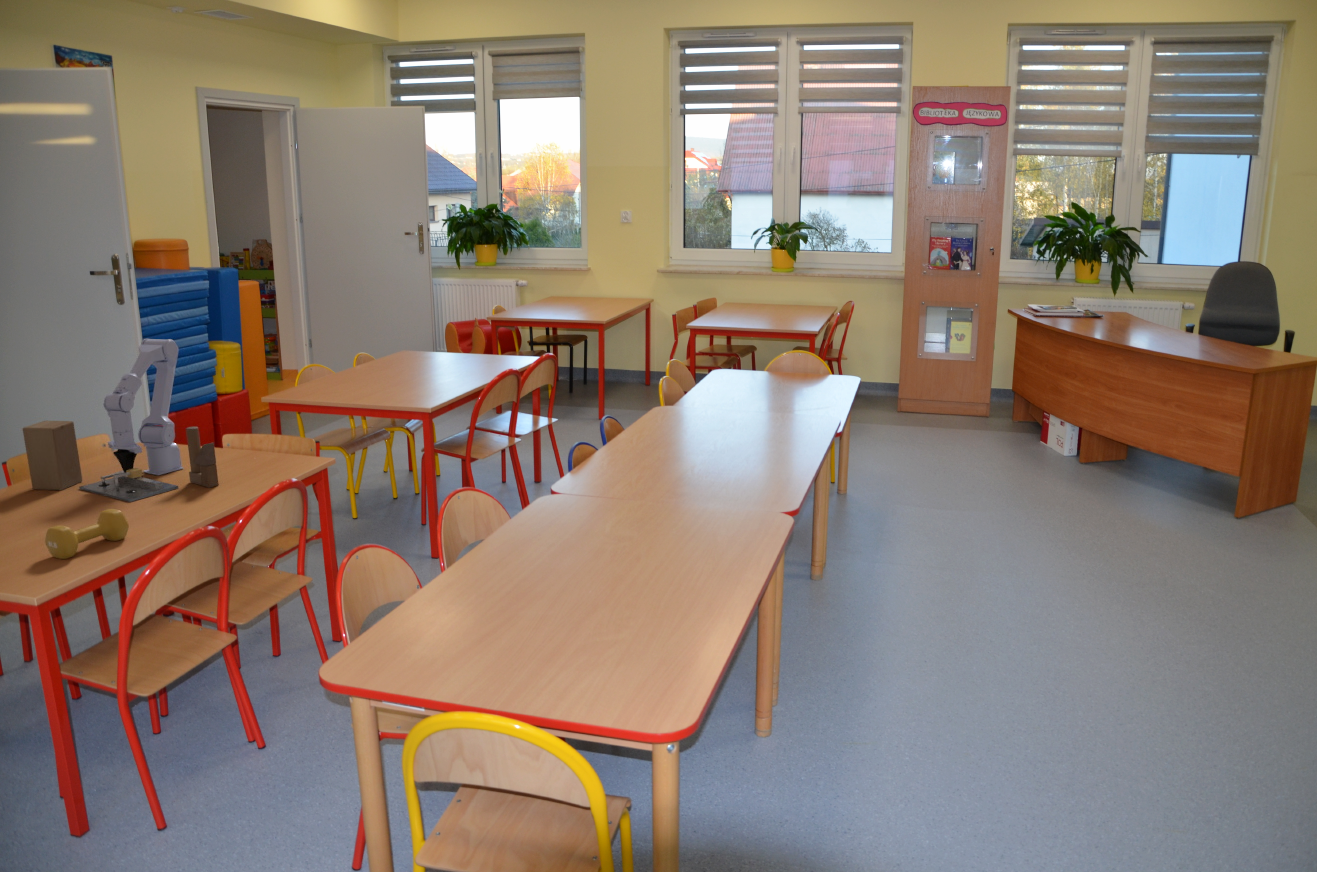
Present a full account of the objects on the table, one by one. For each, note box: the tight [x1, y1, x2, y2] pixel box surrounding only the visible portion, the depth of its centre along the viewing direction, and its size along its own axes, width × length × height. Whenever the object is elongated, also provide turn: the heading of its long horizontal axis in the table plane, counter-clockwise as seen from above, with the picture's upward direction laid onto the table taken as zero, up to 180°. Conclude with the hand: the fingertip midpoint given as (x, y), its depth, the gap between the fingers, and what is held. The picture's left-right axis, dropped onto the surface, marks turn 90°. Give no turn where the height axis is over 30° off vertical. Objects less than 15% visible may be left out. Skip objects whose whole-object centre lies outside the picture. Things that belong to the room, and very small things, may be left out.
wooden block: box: [22, 420, 83, 491], centre depth 304 cm, size 10×10×20 cm
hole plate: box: [78, 470, 179, 503], centre depth 303 cm, size 16×26×4 cm, turn 60°
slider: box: [112, 467, 143, 487], centre depth 303 cm, size 8×3×4 cm, turn 150°
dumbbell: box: [44, 508, 129, 560], centre depth 253 cm, size 19×9×8 cm, turn 155°
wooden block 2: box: [185, 426, 220, 489], centre depth 306 cm, size 4×11×18 cm, turn 55°
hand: (128, 472), depth 307 cm, fingers closed
